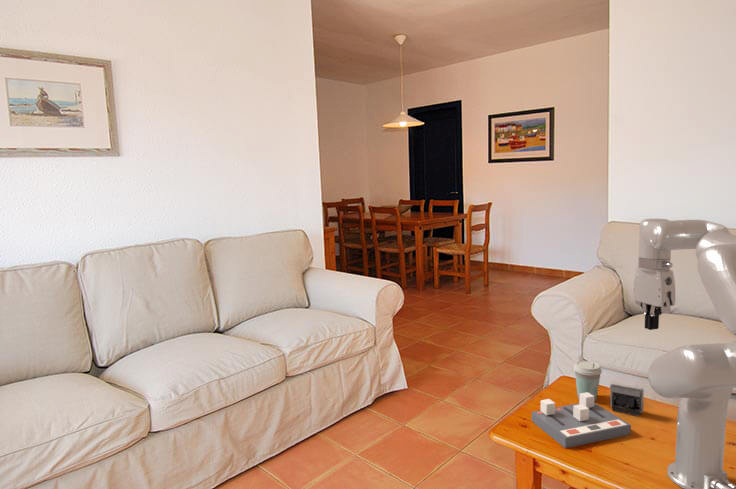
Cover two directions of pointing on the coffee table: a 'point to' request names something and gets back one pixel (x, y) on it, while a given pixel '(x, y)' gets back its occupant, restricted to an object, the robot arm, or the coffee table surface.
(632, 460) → the coffee table surface
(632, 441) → the coffee table surface
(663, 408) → the coffee table surface
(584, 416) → the middle switch
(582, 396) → the right switch
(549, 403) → the left switch
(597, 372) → the coffee cup
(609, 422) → the switch unit
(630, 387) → the electrical switch
